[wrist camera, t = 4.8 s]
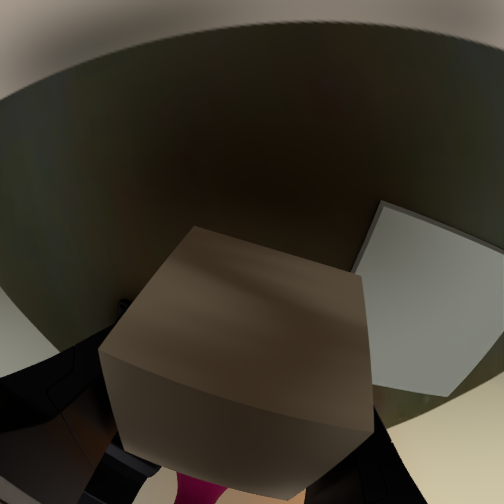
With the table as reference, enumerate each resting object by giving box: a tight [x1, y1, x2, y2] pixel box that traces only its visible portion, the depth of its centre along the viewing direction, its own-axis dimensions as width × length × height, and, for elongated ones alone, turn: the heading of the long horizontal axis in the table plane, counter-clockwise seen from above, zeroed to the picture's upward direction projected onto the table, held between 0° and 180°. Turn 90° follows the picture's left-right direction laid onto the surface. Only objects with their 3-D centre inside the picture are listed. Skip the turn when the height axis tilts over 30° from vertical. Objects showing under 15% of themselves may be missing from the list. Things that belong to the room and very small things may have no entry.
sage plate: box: [350, 200, 504, 397], centre depth 20 cm, size 14×14×1 cm
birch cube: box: [98, 226, 374, 501], centre depth 8 cm, size 5×5×5 cm
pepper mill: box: [174, 472, 228, 504], centre depth 26 cm, size 7×7×20 cm
